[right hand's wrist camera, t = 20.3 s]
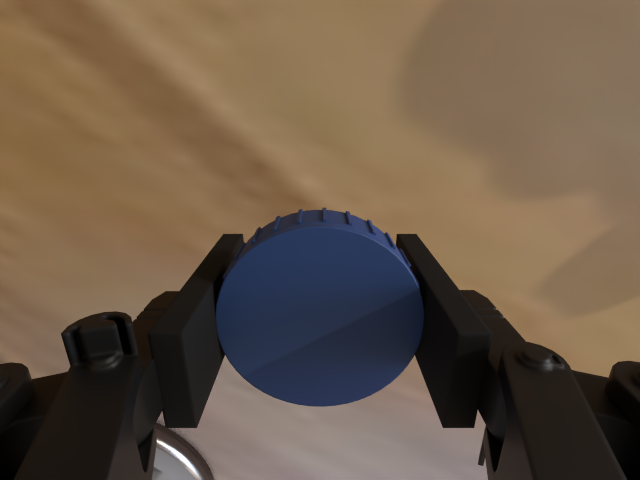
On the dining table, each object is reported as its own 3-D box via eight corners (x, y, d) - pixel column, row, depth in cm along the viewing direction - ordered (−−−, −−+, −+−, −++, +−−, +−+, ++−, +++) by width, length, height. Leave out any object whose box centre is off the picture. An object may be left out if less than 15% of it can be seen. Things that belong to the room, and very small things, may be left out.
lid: (191, 253, 11) (170, 277, 10) (372, 173, 10) (382, 185, 9) (278, 393, 13) (272, 432, 12) (437, 335, 12) (454, 369, 11)
